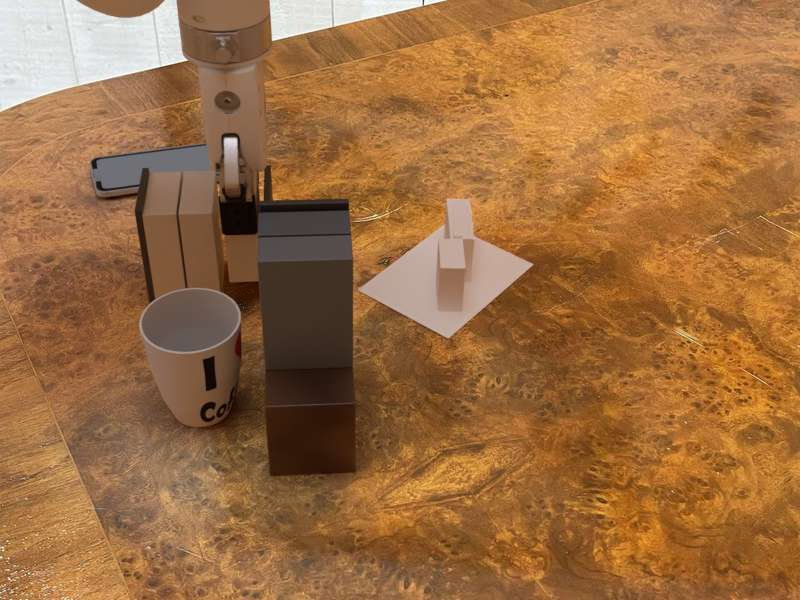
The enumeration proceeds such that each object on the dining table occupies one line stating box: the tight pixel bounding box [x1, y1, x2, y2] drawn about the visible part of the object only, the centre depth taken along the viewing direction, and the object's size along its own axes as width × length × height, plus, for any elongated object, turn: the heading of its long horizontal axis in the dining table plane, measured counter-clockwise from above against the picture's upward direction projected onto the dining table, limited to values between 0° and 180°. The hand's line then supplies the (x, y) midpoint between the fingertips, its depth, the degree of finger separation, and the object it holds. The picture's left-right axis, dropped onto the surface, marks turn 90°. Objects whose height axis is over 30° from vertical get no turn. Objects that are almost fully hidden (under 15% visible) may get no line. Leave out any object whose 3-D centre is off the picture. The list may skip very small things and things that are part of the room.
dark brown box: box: [264, 366, 357, 476], centre depth 89 cm, size 7×12×8 cm, turn 5°
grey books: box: [257, 198, 354, 371], centre depth 84 cm, size 7×7×12 cm
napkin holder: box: [357, 198, 535, 339], centre depth 105 cm, size 15×11×6 cm
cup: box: [138, 288, 243, 428], centre depth 89 cm, size 8×8×10 cm
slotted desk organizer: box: [134, 164, 274, 305], centre depth 102 cm, size 12×7×12 cm, turn 95°
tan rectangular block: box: [223, 158, 261, 283], centre depth 100 cm, size 7×3×11 cm, turn 5°
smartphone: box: [89, 142, 219, 198], centre depth 120 cm, size 7×1×15 cm
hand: (241, 207), depth 100 cm, fingers closed on tan rectangular block, 7 cm apart
